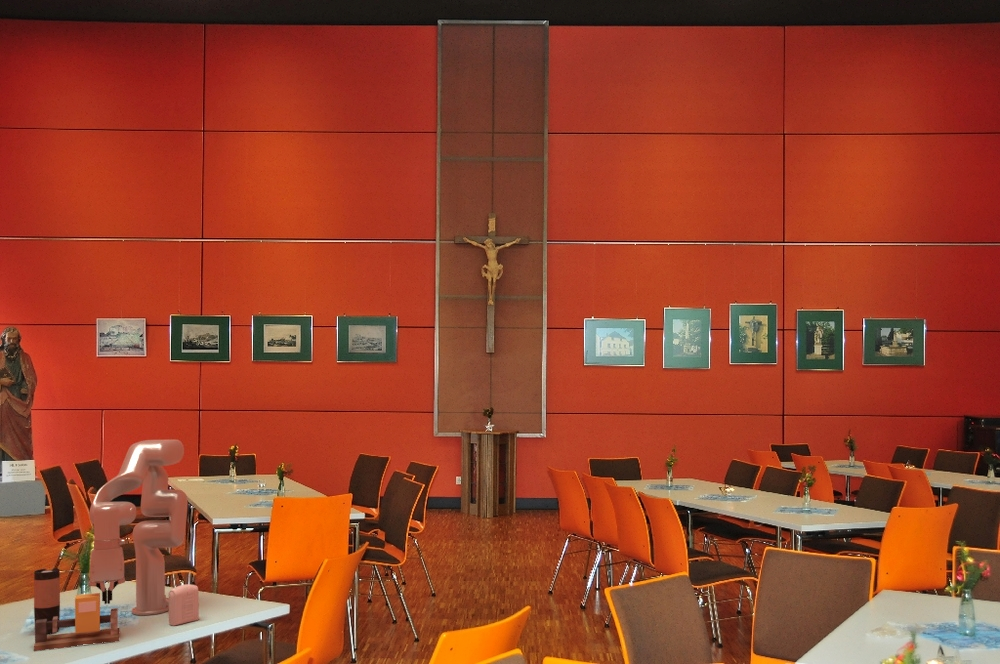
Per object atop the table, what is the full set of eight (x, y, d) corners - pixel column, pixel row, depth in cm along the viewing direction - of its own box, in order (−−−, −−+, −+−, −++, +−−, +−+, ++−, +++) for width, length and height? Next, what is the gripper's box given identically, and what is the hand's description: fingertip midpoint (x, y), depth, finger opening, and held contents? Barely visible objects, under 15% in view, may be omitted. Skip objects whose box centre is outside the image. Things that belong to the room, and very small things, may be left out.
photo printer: (192, 618, 327) (192, 581, 327) (200, 619, 324) (200, 582, 325) (166, 625, 318) (166, 587, 319) (174, 626, 316) (174, 588, 317)
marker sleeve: (100, 626, 306) (99, 592, 306) (99, 630, 300) (99, 596, 301) (76, 629, 303) (76, 595, 304) (75, 633, 298) (75, 599, 298)
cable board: (119, 632, 310) (119, 605, 311) (119, 641, 299) (118, 613, 300) (37, 641, 302) (37, 614, 302) (33, 651, 291) (33, 622, 291)
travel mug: (43, 636, 307) (43, 573, 308) (29, 633, 312) (28, 571, 312) (65, 630, 314) (64, 569, 315) (50, 628, 318) (50, 567, 319)
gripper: (132, 540, 311) (132, 598, 310) (81, 545, 306) (81, 603, 305) (132, 544, 304) (132, 603, 303) (80, 548, 299) (81, 608, 298)
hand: (107, 603), depth 304 cm, fingers closed
